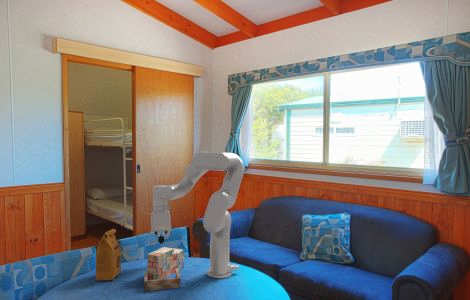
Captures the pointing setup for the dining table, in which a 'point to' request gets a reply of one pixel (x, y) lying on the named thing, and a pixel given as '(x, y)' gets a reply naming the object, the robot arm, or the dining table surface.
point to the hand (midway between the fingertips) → (161, 243)
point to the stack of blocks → (164, 262)
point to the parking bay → (162, 282)
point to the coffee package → (108, 257)
